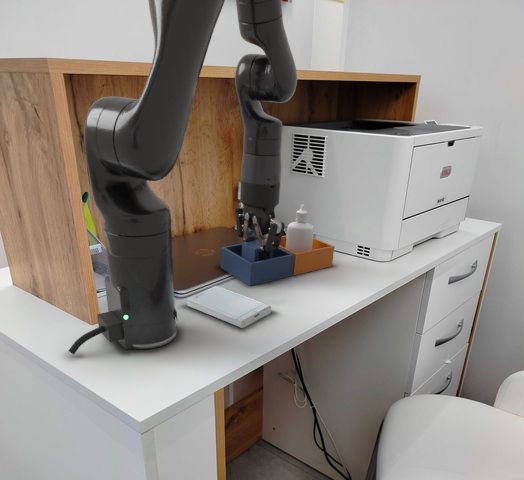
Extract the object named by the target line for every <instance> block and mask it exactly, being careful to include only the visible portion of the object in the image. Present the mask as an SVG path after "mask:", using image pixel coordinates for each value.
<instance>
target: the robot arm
mask: <svg viewBox="0 0 524 480" xmlns="http://www.w3.org/2000/svg"><path fill="white" fill-rule="evenodd" d="M225 2H226V0H148V9H149V15H150V21H151V27H152V33H153V40H154V41H153V42H154V50H153V57H152V63H151V66H150V69H149V73H148V76H147V79H146V82H145V84H144V87H143V89H142V92H141V94H140V96H139V97H138V98H133V97H124V96H123V97H122V96H111V95H110V96H103V97H101V98H98V99H97V100H96V101H94V102H93V103H92V104H91V106H90V107H89V109H88V111H87V114H86V116H85V121H84V125H83V126H84V127H83V143H84V151H85V158H86V164H87V170H88V175H89V182H90V187H91V194H92V198H93V202H94V205H95V207H96V209H97V211H98V214H99V215H100V218H101V221H102V227H103V228H102V229H103V236H104V245H105V255H106V264H107V271H108V276H105V277H104V287H105V294H106V303H107V311H106V312H101V313H97V315H96V317H97V324H98V327H96V328H94V329H92V330H90V331H87V332H86V333H84V334H82V336H80V337H79V338H77V339H76V340H75V341H74V343H73V344H72V345H71V346H70V347H69V349H68V352H69V353H71V354H72V355H75V354H76V353H77V351H78V350H79V349H80V348H81V346H82V345H84V343H86V342H87V341H89V340H90V339H92V338H95V337H96V336H98V335H100V334H101V335H102V336H103V337H104V338H105V339H106V340H107V341H108V342H109V344H110V343H114V342H117V343H119V345H120V346H122V347H123V349H124V350H126V351H129V350H132V349H139V350H147V349H154V348H158V347H159V348H160V347H163V346H166V345H167V344H169V343H171V342H173V340H174V339H175V338H176V336H177V320H178V312H177V309H176V305H175V303H176V302H175V283H174V282H175V281H174V259H173V236H172V235H173V233H172V214H171V208H170V207H169V206H168V204H167V203H166V202H165V201H164V200H162V199H161V198H160V197H159V196H158V195H157V194H156V193H155V192H154V191H153V190H152V188H151V186H150V184H149V183H148V181H149V182H158V181H160V180H162V179H164V178H166V177H167V176H168V175H169V174H170V173H171V172H172V171H173V169H174V167H175V166H176V164H177V162H178V160H179V157H180V154H181V152H182V151H181V150H182V148H183V145H184V141H185V136H186V134H187V133H186V132H187V128H188V124H189V120H190V115H191V111H192V107H193V103H194V99H195V95H196V90H197V87H198V82H199V80H200V76H201V72H202V69H203V65H204V62H205V59H206V57H207V53H208V49H209V46H210V44H211V41H212V37H213V35H214V31H215V28H216V25H217V23H218V20H219V18H220V14H221V12H222V9H223V6H224V4H225ZM282 2H283V1H282V0H235V6H236V14H237V22H238V29H239V34H240V36H241V38H242V40H243V41H245V42H247V43H249V44H252V45H254V46H256V47H258V48H260V49H261V50H262V51H263V53H264V54H259V53H247V54H245V55H243V56H242V57H241V58H240V59H239V60H238V62H237V65H236V68H235V73H234V85H235V90H236V96H237V100H238V104H239V109H240V114H241V120H242V126H243V140H242V157H241V164H240V189H239V191H240V192H239V201H240V203H241V204H242V205H243V206H237V207H235V208H234V214H235V215H234V216H235V223H236V231H237V236H238V238H241V239H242V243H244V242H249V241H255V240H258V241H259V248H260V251H259V261H262V260H267V259H270V253H271V251H273V250H278V249H279V245H280V242H281V238H282V236H283V234H284V230H285V228H286V224H285V222H283V221H281V222H280V221H278V220H277V219H276V213H275V208H276V207H277V206H278V205H279V203H280V195H281V194H280V193H281V180H282V146H283V131H284V128H283V122H282V120H280V119H279V118H277V117H274V116H272V115H269V114H267V113H266V112H265V111H264V109H263V106H262V103H261V102H266V103H275V104H276V103H277V104H284V103H287V102H288V101H290V99H291V98H292V97H293V96H294V94H295V92H296V89H297V86H298V85H297V84H298V72H297V71H298V70H297V67H296V61H295V59H294V55H293V53H292V50H291V47H290V44H289V39H288V36H287V32H286V29H285V25H284V18H283V3H282ZM265 233H266V234H265ZM265 239H267V242H266V245H265V244H264V240H265ZM273 242H274V244H273Z"/></svg>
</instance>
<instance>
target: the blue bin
mask: <svg viewBox="0 0 524 480" xmlns="http://www.w3.org/2000/svg"><path fill="white" fill-rule="evenodd" d="M264 242H267V241H265V239H264ZM293 265H294V254H292V253H289V252H287V251H285V250H283V249H281V248H279V249H278V250H273V254H272V259H267V260H262V261H257V262H253V263H251V262H250V261H248V260H246V259H244V258H242V243H237V244H231V245H226V246H221V247H220V268H221V269H222V270H224V271H225V272H226V273H228V274H229V275H232V276H233V277H235V278H237V279H238V280H240V281H241V282H243V283H245V284H246V285H248V286H249V287H251V286H256V285H260V284H263V283H264V284H265V283H268V282H272V281H277V280H280V279H284V278H289V277H292V276H294V275H293Z"/></svg>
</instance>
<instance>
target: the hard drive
mask: <svg viewBox="0 0 524 480" xmlns="http://www.w3.org/2000/svg"><path fill="white" fill-rule="evenodd" d="M186 306H187V307H188V308H189V307H190V308H192V309H195V310H197V311H198V312H201V313H204V314H207V315H209V316H211V317H214V318H217V319H219V320H222V321H224V322H226V323H229V324H231V325H234V326H236V327H238V328H240V329H244V328H246V327H248V326H249V325H252V324H253V323H255V322H256V321H258V320H260V319H262V318H264V317H265V316H268V315H269V314H270V313H272V306H271V304H267V303H265V302H262V301H259V300H256V299H254V298H251V297H248V296H246V295H243V294H241V293H237V292H235V291H232V290H230V289H227V288H225V287H222V286H219V285H214V286H212V287H210V288H207V289H204V290H203V291H201V292H198V293H196V294H194V295H192V296H189V297H188V298H187V300H186Z"/></svg>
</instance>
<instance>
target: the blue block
mask: <svg viewBox="0 0 524 480" xmlns="http://www.w3.org/2000/svg"><path fill="white" fill-rule="evenodd" d="M241 244H242V258H244V259H246V260H248V261H250V262H251V263H253V262H257V261H259V251H260V248H259V241H258V240H257V239H255V241H249V242H241ZM264 244H265V245H266V242H264ZM272 254H273V251H271V253H270V259H272Z"/></svg>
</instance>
